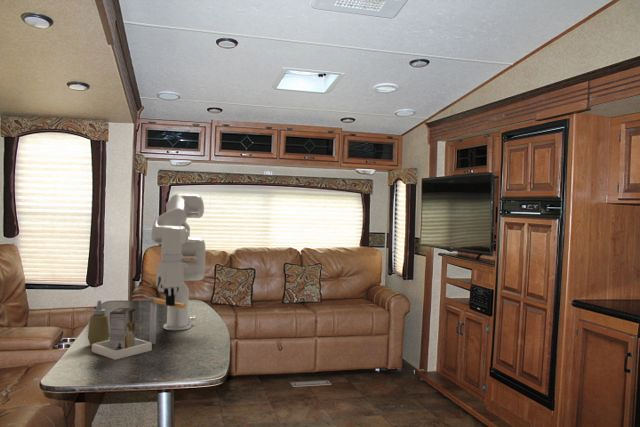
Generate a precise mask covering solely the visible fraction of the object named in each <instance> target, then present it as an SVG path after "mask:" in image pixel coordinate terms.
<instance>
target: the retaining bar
mask: <svg viewBox="0 0 640 427" xmlns="http://www.w3.org/2000/svg"><path fill="white" fill-rule="evenodd" d="M148 300H149V303H157V305H158V304H159V305H164V306H167V305H166V299H164V298H158V297H154V296H153V297H149V299H148ZM172 307H177V308H181V309H182V308H186V304H183V303H179V302H174V306H172Z"/></svg>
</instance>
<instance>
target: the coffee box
mask: <svg viewBox="0 0 640 427" xmlns="http://www.w3.org/2000/svg"><path fill="white" fill-rule="evenodd" d="M135 328H136V308H135V307H119V308H116V309H114V310H112V311H110V312H109V339H108V340H109V349H113V350H116V351H117V350H121V349H125V348H129V347H133V346H134V339H135V338H136V337H135V332H136V331H135Z"/></svg>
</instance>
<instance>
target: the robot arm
mask: <svg viewBox="0 0 640 427" xmlns="http://www.w3.org/2000/svg"><path fill="white" fill-rule="evenodd" d="M204 212H205V204H204V200H203V198H202V196H200V195H199V194H195V193H191V194H190V193H176V194H174V195H172V196H171V197H170V199H169V200H168V201H167V202H166V204H165V212H164V213H162V214H160V215H159V216H157V217H156V218H155V220H154V221H153V225H152V229H151V240H152V242H153V244H157V245H161V246H160V247H161V252H160V254H161V255H160V256H161V257H160V258H161V259H160V262H158V266H157V270H156V280H155V281H156V282H155V286H156V288H157V291H158V293H159V292H162V293H163V294H164V295H165V300H166V305H165V306H166V307H167V309H166V310H167V312H166V314H167V315H166V317H167V318H166V319H167V320H166V323H164V324H163V329H165V330H167V331H183V330H185V331H186V330H189V329H191V328H192V323H191V322H193V321H195V322H196V320H197V317H196V316H189V306H190V305H189V302H190V301H189V298H190V294H189V292H190V289H189V287H188V285H187V284H186V283H185V281H202V280H203V279H204V278H205V274H206V242H205V240H204V238H201V237H191V235H190V234H191V228H190V225H189V223H188V222H187V220H188V219H200V218H202V217H203V215H204ZM183 258H194V259H195V260H194V259H183ZM174 302H179V303H183V304H186V308H182V309H181V308H177V307H172V306H174Z"/></svg>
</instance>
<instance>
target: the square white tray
mask: <svg viewBox="0 0 640 427" xmlns="http://www.w3.org/2000/svg"><path fill="white" fill-rule="evenodd" d="M149 303H150V302H149ZM157 305H158V303H150V305H149V306H150V307H149V308H150V310H149V312H150V313H149V341H147V340H143V339H140V338H136V337H134V338H135V339H134V346H133V347H129V348H125V349H121V350H117V351H116V350H113V349H109V339H108V341H103V342H98V343H94V344H92V346H91V352H92V353H95V354H97V355H101V356H104V357H106V358H108V359H109V358H110V359H112V360H115V361H116V360H120V359H123V358H127V357H131V356H134V355H139V354H143V353H147V352H151V351H152V346H153V345H155V344H156V342H157V341H156V340H157V339H156V338H157Z"/></svg>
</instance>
